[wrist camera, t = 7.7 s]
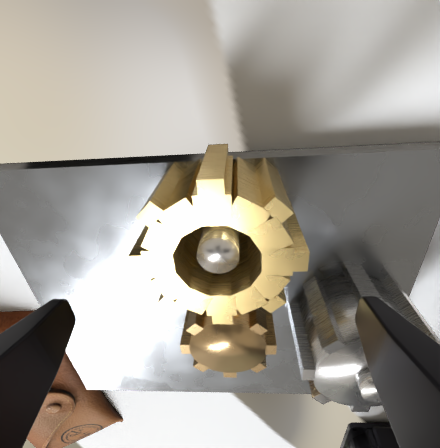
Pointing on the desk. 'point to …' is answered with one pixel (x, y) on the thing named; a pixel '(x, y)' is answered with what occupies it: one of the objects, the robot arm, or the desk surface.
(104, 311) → the carrier
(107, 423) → the sunglasses case
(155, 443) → the desk surface
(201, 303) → the brass gear
